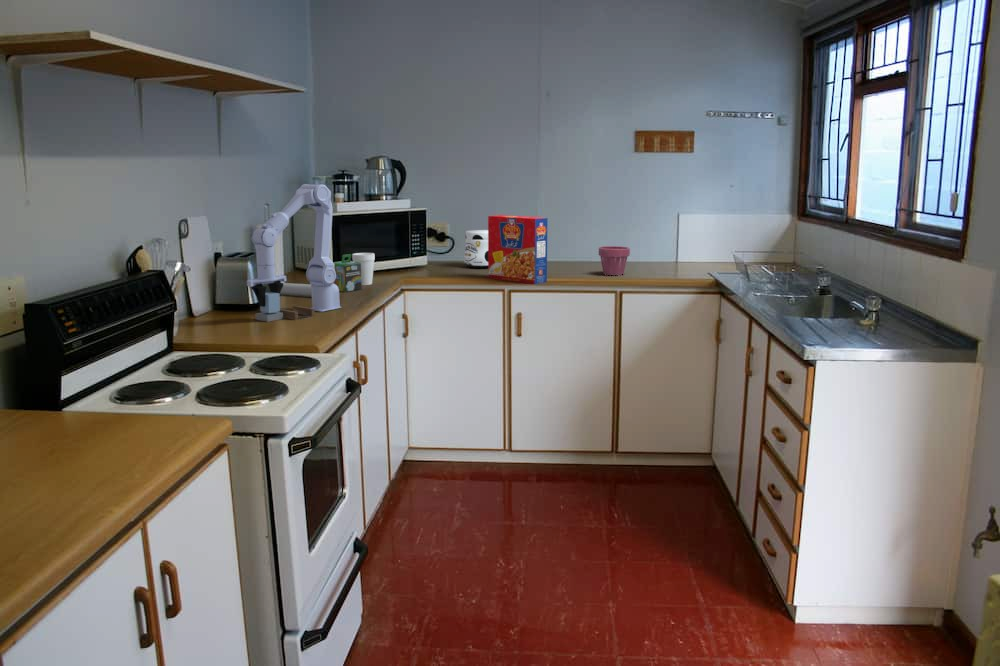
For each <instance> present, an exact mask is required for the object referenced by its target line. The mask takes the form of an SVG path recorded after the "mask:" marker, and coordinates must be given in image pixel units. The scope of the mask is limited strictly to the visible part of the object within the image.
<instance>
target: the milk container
mask: <svg viewBox="0 0 1000 666" xmlns="http://www.w3.org/2000/svg"><path fill="white" fill-rule="evenodd" d="M464 241H465V249H464V252H463V253H464V254H463V255H464V256H463V262H464V265H465V266H466V267H470V268H476V269H477V268H478V269H484V268H488V229H469V230H466V231H465V240H464Z"/></svg>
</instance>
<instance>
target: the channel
mask: <svg viewBox="0 0 1000 666" xmlns="http://www.w3.org/2000/svg"><path fill="white" fill-rule="evenodd" d="M291 308H292V310H288V309H281V308H280V311H278V312H281V313H283V319H289V320H302V319H306V318H311V317H312V318H313V317H315V315H316V314H315V312H316V311H314V309H313V308H311V307H308V306H307V307H304V306H301V305H300V306H298V305H293V306H292V307H291Z"/></svg>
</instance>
